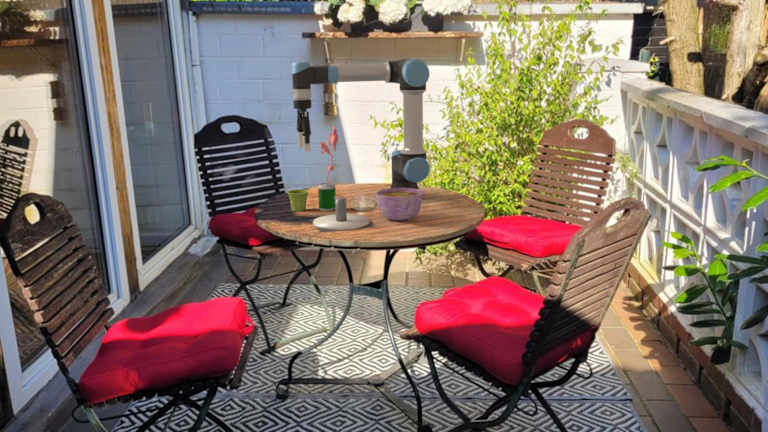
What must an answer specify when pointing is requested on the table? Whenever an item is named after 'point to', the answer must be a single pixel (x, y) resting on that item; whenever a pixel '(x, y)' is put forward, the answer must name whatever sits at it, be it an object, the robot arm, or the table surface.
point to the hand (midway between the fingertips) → (304, 149)
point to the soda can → (326, 196)
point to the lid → (341, 219)
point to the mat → (339, 230)
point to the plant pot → (298, 199)
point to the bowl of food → (399, 203)
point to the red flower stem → (334, 142)
